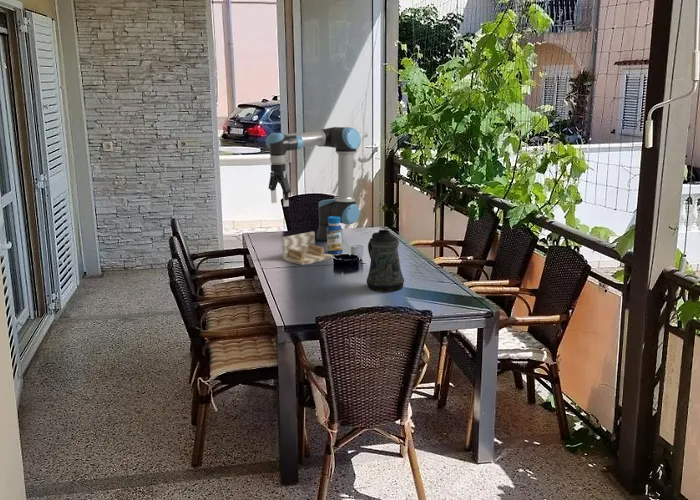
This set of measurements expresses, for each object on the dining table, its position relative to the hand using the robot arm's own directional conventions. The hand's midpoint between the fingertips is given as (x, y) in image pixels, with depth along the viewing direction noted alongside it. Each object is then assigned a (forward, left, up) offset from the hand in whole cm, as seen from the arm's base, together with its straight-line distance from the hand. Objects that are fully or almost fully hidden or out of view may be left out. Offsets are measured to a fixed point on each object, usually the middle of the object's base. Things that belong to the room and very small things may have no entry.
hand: (280, 204), depth 355 cm
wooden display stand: (-5, +15, -28) cm, 32 cm away
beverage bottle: (-22, +17, -28) cm, 40 cm away
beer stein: (+5, +79, -28) cm, 84 cm away
